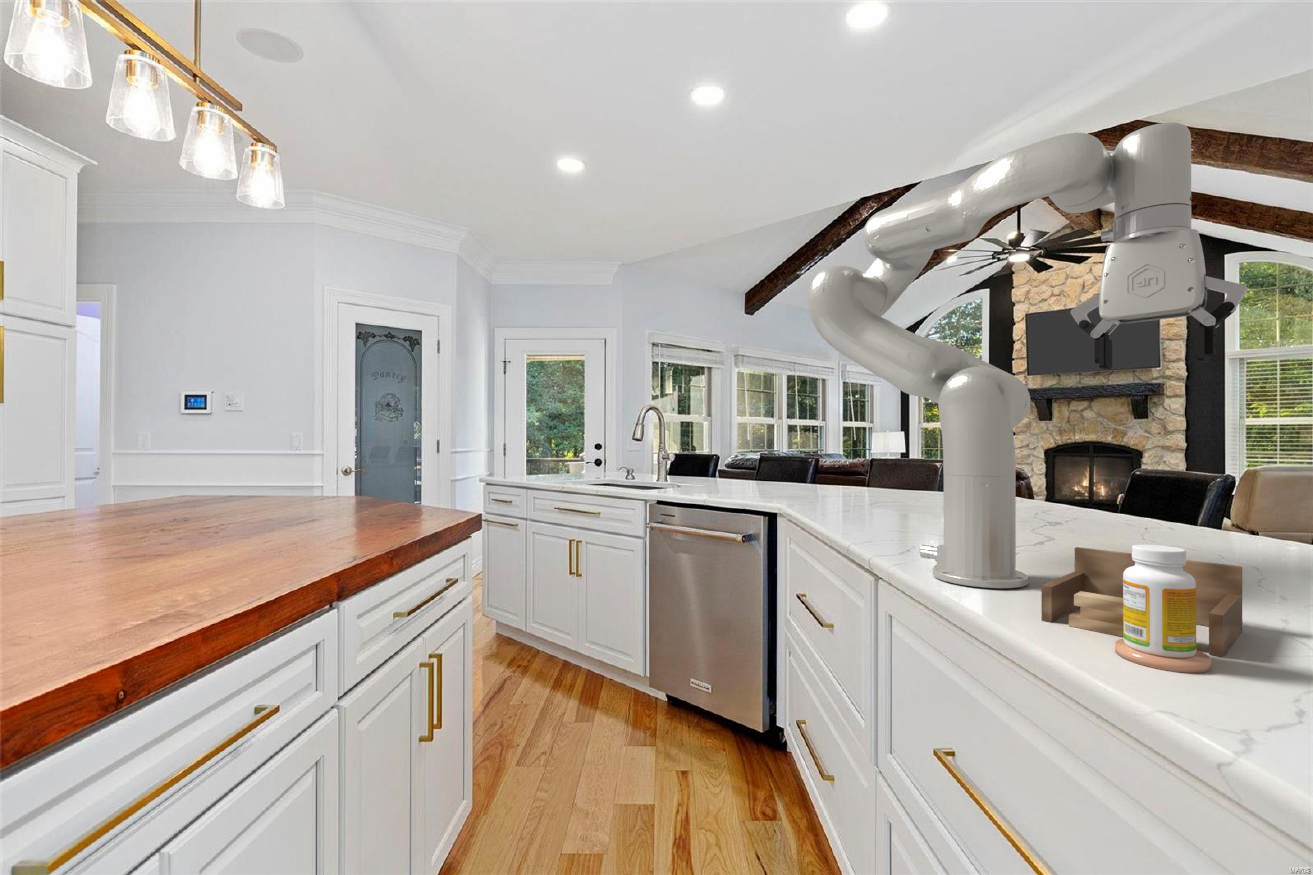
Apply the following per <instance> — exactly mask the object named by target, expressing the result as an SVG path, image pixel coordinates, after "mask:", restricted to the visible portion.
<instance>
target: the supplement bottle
mask: <svg viewBox="0 0 1313 875" xmlns="http://www.w3.org/2000/svg"><path fill="white" fill-rule="evenodd" d="M1131 553H1132V560H1134V561H1135V565H1134V566H1132V567H1129V568H1127V569H1126V570H1125V571H1124V573H1123V637H1122V639H1124V643H1125V644H1126V645H1127V646H1129V647H1131V648H1133V649H1135V650H1137V651H1140V652H1143V653H1147V654H1152V655H1157V656H1164V657H1173V658H1189V657H1192V656H1194V655H1195V654H1196V650H1197V624H1196V581H1195V579H1194V577H1193V576H1192V575H1190V574H1188V573H1186V572H1184V571H1183V566H1185V565H1186V560H1187V552H1186V550H1185V549H1183V548H1180V547H1174V546H1168V545H1160V544H1159V545H1158V544H1157V545H1156V544H1133V545H1132V546H1131Z"/></svg>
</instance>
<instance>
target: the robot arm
mask: <svg viewBox="0 0 1313 875" xmlns="http://www.w3.org/2000/svg"><path fill="white" fill-rule="evenodd" d="M1190 131H1191V130H1190V129H1189V127H1187V126H1186V125H1185V124H1183V123H1179V122H1162V123H1156V124H1152V125H1148V126H1145V127H1142V128H1141V127H1140V128H1139V129H1137V130H1134V131H1132V132H1130V133H1129V134H1127V135H1126V136H1124V137H1123V138H1122V139H1121V140H1120V141H1119V142H1118V143H1117V145H1116V147H1115V150H1113V151H1107V149H1106V147H1105V146H1104V144H1103V142H1101V140H1099V138H1098V137H1096V136H1094V135H1092V134H1089V133H1085V132H1070V133H1069V132H1068V133H1063V134H1059V135H1054V136H1052V137H1049V138H1045V139H1043V140H1040V141H1037V142H1034V143H1031V144H1028V145H1025V146H1022V147H1020V148H1017V149H1014V150H1012V151H1011V150H1010V151H1009V152H1007V153H1004V154H1002V155H1001V156H999V157H997V158H995V159H994V160H992V161H990V162H988V163H987V164H986V165H985V166H983V167H982V168H980V169H978V170H977V171H976V172H975V173H973V174H972V175H971V176H969V177H968V178H967V179H966V180H964V181H963V182H961V183H958V184H955V185H953V186H950V187H946V188H944V189H943V188H942V189H941V190H937V191H935V192H932V193H929V194H925V195H923V196H920V197H916V198H913V199H910V200H908V201H907V200H906V201H904V202H900V203H898V204H896V205H892V206H889V207H886V208H883V209H881V210H880V211H877V212H876V213H874V214H873V215H872V216H870V218H869V219H868V220H867V222H866V223H865V225H864V228H863V233H862V239H863V244H864V246H865V248H866V250H867V251H868V252H869V255H871V256H872V257H874V260H873V262H872V263H871V264H870V265H869V266H868V268H867V269H866V271H862V270H859V269H857V268H854V267H852V266H847V265H834V266H829V267H826V268H824V269H822V270H821V271H819V272H818V273H816V275H815V276H814V278H813V280H812V282H811V283H810V286H809V290H808V295H807V296H808V298H807V299H808V302H807V303H808V310H809V311H808V312H809V315H810V318H811V321H812V324H813V325H814V328H815V329H816V331H817V332H818V334H819V336H820V337H821V338H822V339H823V340H824V341H825V342H826V343H827V344H828V345H830V347H832V348H833V349H835V351H837V352H839V353H840V354H842V355H843V356H844V357H846V358H848V359H849V360H852V361H853V362H855V363H856V364H858V365H860V366H861V367H863V368H864V369H866V370H867V371H869V372H871V373H873V375H876V376H878V378H880V379H882V380H884V381H886V382H888V383H889V384H891V385H892V386H894V387H895V388H897V390H899V391H902V392H903V393H905V394H907V395H911V396H915V397H921V398H926V399H928V400H930V401H932V402H934V403H936V404H938V417H939V423H940V430H941V439H942V460H943V461H942V462H943V464H942V465H943V472H942V473H943V544H939V545H937V546H934V545H929V544H921V545H920V547H919V556H920V558H922V559H928V560H929V559H931V560H934V561H935V562H936V565H934V566H933V567H932V568H931V569H932V575H933V577H935V579H938V580H940V581H943V582H944V581H945V582H947V583H951V584H955V585H962V586H968V587H973V588H974V587H975V588H983V589H984V588H986V589H1016V588H1017V589H1018V588H1023V587H1025V586H1027V585H1028V584H1029V576H1028V574H1026V573H1024V572H1022V571H1021V570H1017V568H1016V566H1017V565H1016V562H1017V559H1016V541H1017V540H1016V536H1017V533H1016V532H1017V528H1016V524H1017V523H1016V522H1017V521H1016V520H1017V519H1016V510H1017V508H1016V504H1017V503H1016V502H1017V500H1016V495H1017V494H1016V489H1017V488H1016V486H1017V485H1016V481H1017V480H1016V479H1017V478H1016V447H1015V439H1014V429H1013V428H1015V427H1016V426H1018V425H1020V424H1021V423H1022V422H1023V421H1024V420H1025V418H1026V417H1027V416H1028V413H1029V411H1030V409H1031V396H1030V392H1029V390H1028V388H1027V386H1026V385H1025V383H1024V382H1023V381H1022V380H1021V379H1019V378H1018V377H1017V376H1015V375H1013V374H1011V373H1010V372H1009V373H1008V371H1005V370H1002V369H1000V368H999V367H996V366H994V365H993V364H991V363H989V362H986V361H985V360H982V359H980V358H979V357H977V356H974V355H973V354H970V353H968V352H966V351H964V350H962V349H960V348H958V347H956V346H954V345H951V344H949V343H946V342H944V341H940V340H937V339H933V338H930V337H925V336H922V335H919V334H916V333H914V332H912V331H909V330H908V329H905V328H903V327H901V326H899V325H897V324H895V323H893V322H892V321H890V320H888V319H886V318H885V317H883V316H884V315H885V314H886V313H887V312H888V311H889V310H890V309H891V307H893V305H895V303H896V302H897V301H898V299H899V298H900V297H901V296H902V295H903V293H905V292H906V290H907V289H908V287H909V286H910V285H911V284H912V283H913V281H914V280H915V279H916V278H917V277H918V276H919V274H920V273H921V272H922V271H923V269H924V268H925V267H926V266H927V264H928V262H929V260H931V258H932V256H933V254H934V253H935V252H934V251H935V250H938V249H942V248H946V247H949V246H954V245H959V244H962V243H965V242H969V241H972V240H973V239H975V238H976V237H977V236H978V235H979V233H980V232H981V230H982V228H983V227H984V226H985V224H987V222H989V220H990V219H991V218H993V217H995V216H996V215H999V213H1002V212H1004V211H1006V210H1008V209H1010V208H1013V207H1016V206H1019V205H1022V204H1025V203H1028V202H1033V201H1035V200H1040V199H1044V198H1047V197H1048V198H1049V199H1050V200H1051V201H1052V202H1053V203H1054V204H1055V206H1056V207H1057V208H1058V209H1060V210H1061V211H1063V212H1064V213H1065V212H1066V213H1068V214H1084V213H1087V212H1092V211H1094V210H1098V209H1099V208H1103V207H1105V206H1108V205H1110V204H1113V203H1114V220H1113V221H1112V225H1111V228H1108V229H1106V230H1102V231H1101V232H1100V239H1101V242H1106V241H1108V242H1113V243H1112V244H1111V243H1110V244H1109V245H1107V247H1106V249H1105V253H1104V256H1103V261H1102V268H1101V276H1100V283H1099V284H1100V285H1099V286H1100V287H1099V293H1097V294H1096V295H1094V296H1092V297H1091V298H1089V299H1087V300H1085V301H1083V302H1082V303H1080V304H1078V305H1077V306H1075V307H1073V308H1071V309H1070V315H1071V317H1072V318H1073V320H1074V321H1075V323H1077V325H1078V328H1079V329H1081V330H1082V331H1083V332H1085V333H1086V334H1088V335H1089V336H1090V337H1091V338H1093V339H1094V363H1095V364H1096V365H1097V364H1098V367H1099V369H1102V370H1106V371H1107V370H1111V369H1112V368H1113V340H1112V339H1110V335H1111V334H1112V333H1113V332H1114V331H1115V330H1116V329H1117V327H1118V326H1119V325H1120V324H1121V325H1123V324H1132V323H1134V324H1135V323H1144V322H1150V321H1160V320H1167V319H1175V318H1176V319H1177V318H1182V317H1185V318H1186V317H1191V316H1192V317H1193V318H1194V319H1196V321H1198V322H1199V326H1198V328H1196V332H1195V334H1196V336H1195V337H1196V339H1195V340H1196V346H1195V347H1196V357H1195V358H1196V361H1199V362H1201V363H1209V362H1210V355H1216V353H1217V348H1216V347H1217V345H1216V344H1217V343H1216V342H1217V341H1216V337H1217V336H1216V334H1217V332H1216V331H1217V330H1216V329H1217V328H1218V327H1219V326H1220V325H1221V324H1222V323H1223V322H1224V321H1225V320H1227V318H1229V317H1230V316H1231V315H1232V314H1233V313H1234V312H1236V310H1237V308H1238V306H1239V305H1240V304H1241V302H1242V300H1243V299H1244V297H1245V296H1246V295H1247V293H1248V287H1247V286H1246V285H1245V284H1242V283H1239V282H1238V283H1237V282H1234V281H1228V280H1225V279H1220V278H1216V277H1211V276H1208V275H1206V274H1207V273H1206V262H1205V256H1204V251H1203V246H1202V245H1203V244H1202V242H1201V238H1200V234H1199V230H1198V229H1194V228H1192V135H1191V132H1190ZM1208 290H1211V291H1215V292H1219V293H1221V294H1226V297H1225V299H1224V301H1223V302H1222V303H1221V304H1220V305H1219V306H1218V307H1217V308H1216V309H1214V310H1213V311H1212V312H1211V313H1209V311H1207V310H1205V309H1206V307H1207V305H1208V304H1207V303H1208ZM1097 308H1098V313H1099V317H1100V318H1101V320H1100V322H1099V323H1098V324H1097V325H1096V324H1095V323H1093V322H1091V320H1090V319H1089V317H1088V315H1089V313H1091V312H1092V311H1093V310H1095V309H1097Z"/></svg>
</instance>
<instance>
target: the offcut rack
mask: <svg viewBox="0 0 1313 875" xmlns="http://www.w3.org/2000/svg"><path fill="white" fill-rule="evenodd" d="M1134 565H1135V561H1134V560H1132V552H1122V551H1121V552H1120V551H1113V550H1106V549H1097V548H1095V549H1094V548H1088V547H1079V546H1076V547H1074V571H1072V572H1070V573H1068V574H1065V575H1063V576H1061V577H1059V578H1056V579H1054V580H1051V581H1049V582H1047V583H1045V584H1042V585H1041V621H1043V622H1048V623H1053V622H1054V621H1056V620H1058V619H1060V618H1062V617H1063V616H1066V615H1068V614H1069V613H1070V612H1072V613H1070V614H1069V615H1068V626H1069V627H1073V628H1078V629H1082V630H1086V631H1091V632H1092V631H1093V632H1097V633H1101V634H1102V633H1103V634H1107V635H1112V636H1116V637H1122V638H1123V573H1124V571H1125V570H1126V569H1127V568H1129V567H1132V566H1134ZM1183 571H1184V572H1186V573H1188V574H1190V575H1192V576H1193V577H1194V579H1195V581H1196V625H1200V626H1205V627H1208V654H1209V656H1216V657H1221V658H1224V657H1225V655H1226V654H1227V653H1228V651H1229V650H1230V649H1231V647H1232V646H1233V644H1234V643H1235V641H1236V640H1237V638H1238V637H1239V635H1240V634H1241V633H1242V632H1243V566H1242V565H1233V564H1226V563H1225V564H1224V563H1215V562H1210V561H1209V562H1206V561H1202V560H1200V561H1199V560H1191V559H1186V565H1185V566H1183ZM1078 608H1079V611H1074V610H1076V609H1078ZM1073 611H1074V612H1073Z"/></svg>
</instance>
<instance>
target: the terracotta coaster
mask: <svg viewBox="0 0 1313 875" xmlns="http://www.w3.org/2000/svg"><path fill="white" fill-rule="evenodd" d="M1114 648H1115V649H1114V652H1115V653H1116V655H1118V656H1119V657H1121V658H1123V659H1124V660H1127V661H1128V662H1132V663H1134V664H1137V665H1142V666H1144V667H1148V668H1153V669H1157V670H1161V671H1162V670H1163V671H1168V672H1173V673H1174V672H1177V673H1184V674H1185V673H1187V674H1200V673H1201V674H1202V673H1207V672H1210V671H1211V670H1212V658H1211V656H1210V655H1208V654H1206V653H1205V652H1202V651H1201V650H1198V649H1196V654H1195V655H1194V656H1192V657H1189V658H1173V657H1164V656H1157V655H1152V654H1147V653H1143V652H1140V651H1137V650H1135V649H1133V648H1131V647H1129V646H1127V645H1126V644H1125V643H1124V639H1123V638H1120V639H1118V640H1116V641H1115V643H1114Z"/></svg>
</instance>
